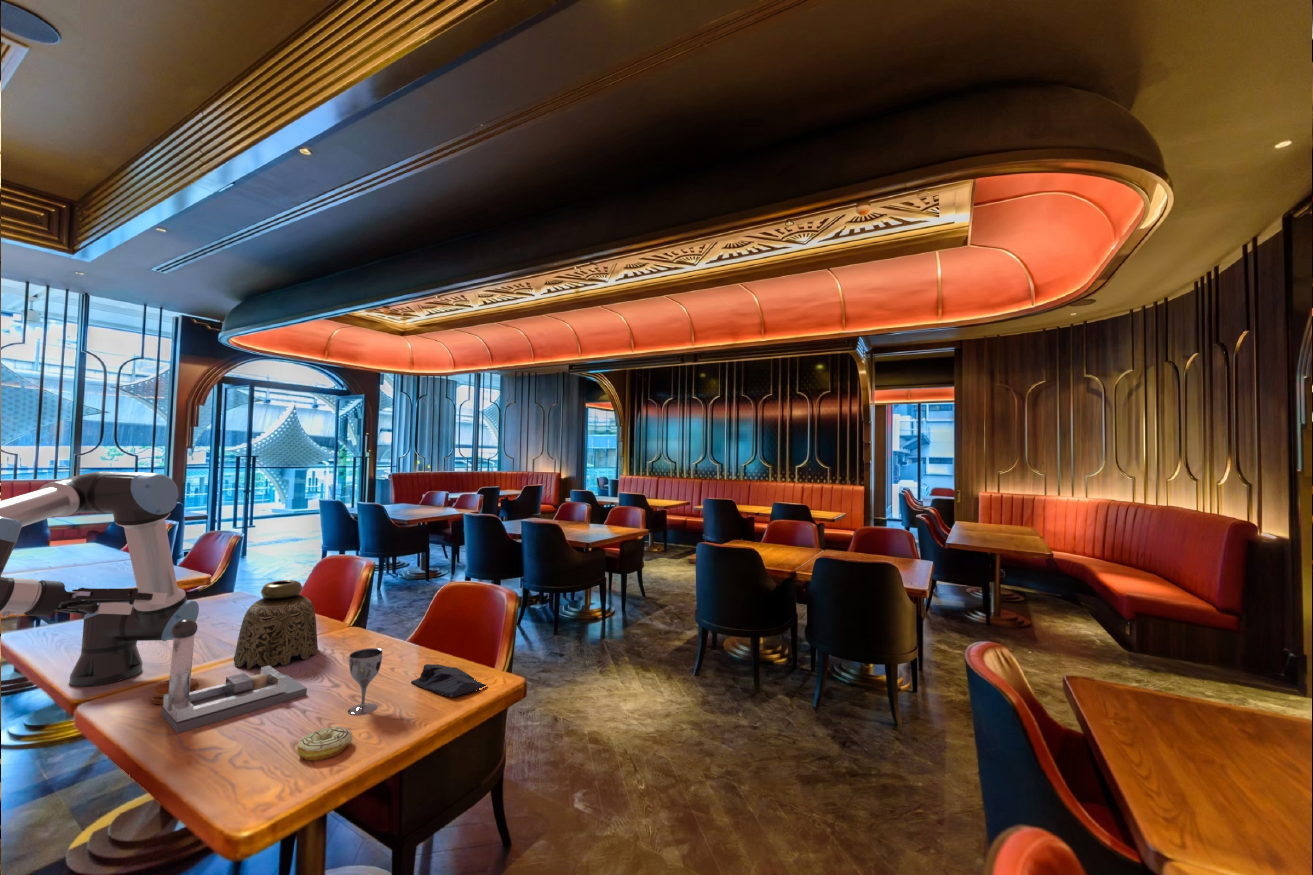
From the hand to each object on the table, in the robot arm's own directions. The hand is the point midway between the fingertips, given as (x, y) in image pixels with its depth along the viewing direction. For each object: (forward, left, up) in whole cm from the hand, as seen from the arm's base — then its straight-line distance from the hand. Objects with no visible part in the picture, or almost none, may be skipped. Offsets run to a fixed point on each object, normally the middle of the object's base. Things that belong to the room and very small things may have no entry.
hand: (148, 604), depth 133 cm
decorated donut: (+49, +24, -30) cm, 62 cm away
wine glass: (+35, +39, -30) cm, 60 cm away
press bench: (+7, +19, -29) cm, 35 cm away
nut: (+7, +23, -27) cm, 36 cm away
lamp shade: (-25, +38, -30) cm, 54 cm away
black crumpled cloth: (+38, +63, -30) cm, 79 cm away
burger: (-10, +9, -30) cm, 33 cm away
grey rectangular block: (+7, +19, -27) cm, 34 cm away
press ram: (+7, +16, -27) cm, 32 cm away
